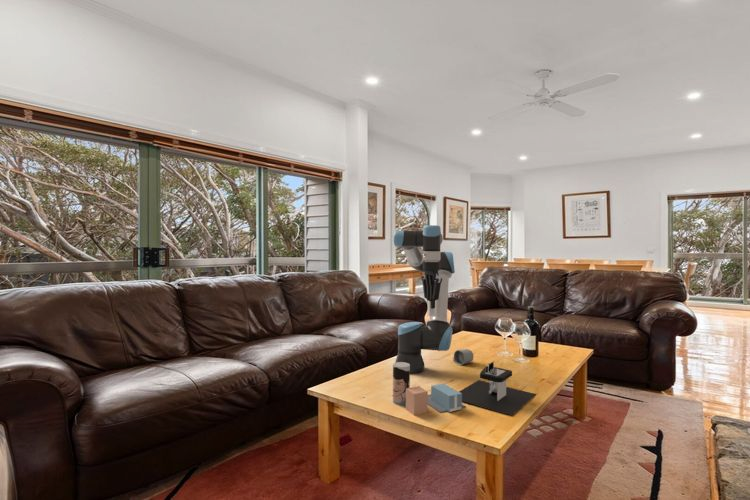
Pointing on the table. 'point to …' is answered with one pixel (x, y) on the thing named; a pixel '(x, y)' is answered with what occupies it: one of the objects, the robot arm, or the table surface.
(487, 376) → the black-topped pedestal
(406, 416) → the table surface
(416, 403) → the terracotta block
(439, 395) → the slate-blue block
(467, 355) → the ceramic mug
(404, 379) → the white patterned canister
